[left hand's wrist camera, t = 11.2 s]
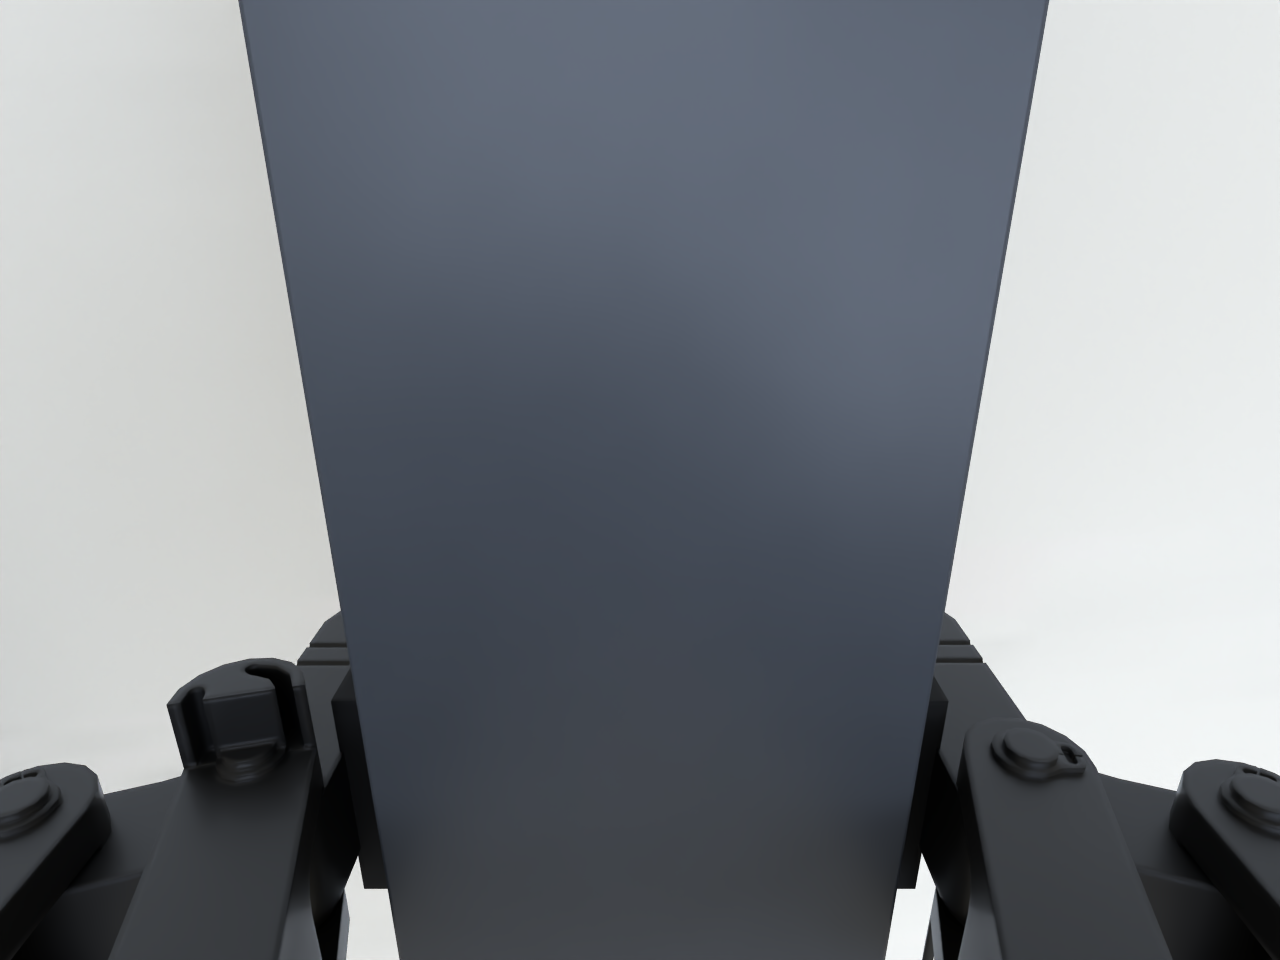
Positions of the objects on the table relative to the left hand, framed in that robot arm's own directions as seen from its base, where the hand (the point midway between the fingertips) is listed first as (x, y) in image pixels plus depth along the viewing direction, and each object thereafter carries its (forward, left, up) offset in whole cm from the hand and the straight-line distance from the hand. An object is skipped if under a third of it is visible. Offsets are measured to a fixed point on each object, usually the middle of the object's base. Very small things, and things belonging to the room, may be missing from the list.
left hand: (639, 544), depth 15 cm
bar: (+7, +7, -1) cm, 10 cm away
